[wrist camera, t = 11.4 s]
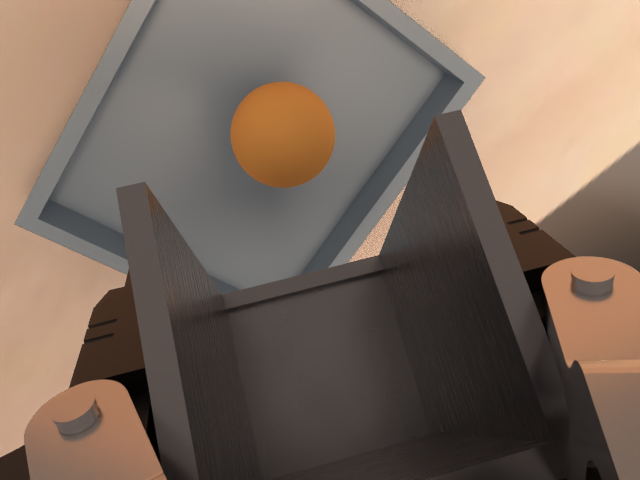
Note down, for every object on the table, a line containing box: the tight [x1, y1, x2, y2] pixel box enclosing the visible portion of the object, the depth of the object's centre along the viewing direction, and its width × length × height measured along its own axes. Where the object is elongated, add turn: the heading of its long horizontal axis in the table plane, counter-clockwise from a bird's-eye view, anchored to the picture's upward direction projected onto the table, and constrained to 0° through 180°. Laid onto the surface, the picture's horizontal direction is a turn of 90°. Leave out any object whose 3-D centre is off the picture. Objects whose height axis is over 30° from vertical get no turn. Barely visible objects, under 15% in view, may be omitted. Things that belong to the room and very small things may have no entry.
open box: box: [116, 110, 569, 480], centre depth 11 cm, size 5×5×8 cm
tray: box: [15, 0, 486, 294], centre depth 22 cm, size 14×12×2 cm
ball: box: [230, 82, 335, 188], centre depth 16 cm, size 3×3×3 cm
